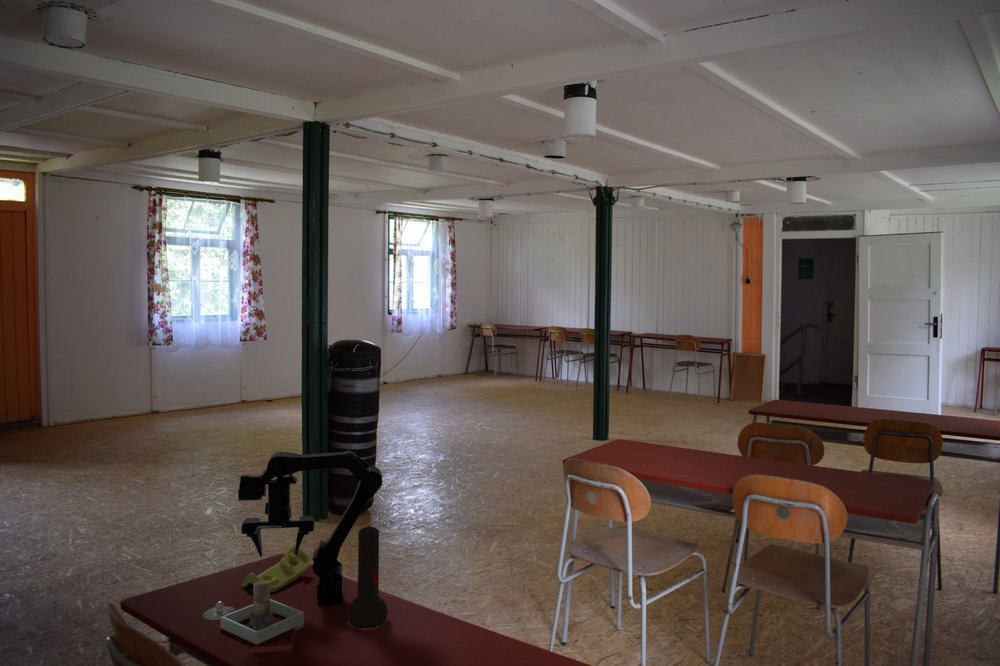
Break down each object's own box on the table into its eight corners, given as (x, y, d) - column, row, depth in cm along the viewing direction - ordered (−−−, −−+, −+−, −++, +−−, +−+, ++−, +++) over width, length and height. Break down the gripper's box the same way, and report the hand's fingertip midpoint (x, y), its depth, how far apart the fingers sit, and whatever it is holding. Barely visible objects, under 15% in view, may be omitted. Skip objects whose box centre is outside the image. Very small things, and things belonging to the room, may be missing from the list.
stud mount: (238, 609, 193) (238, 594, 193) (232, 622, 185) (232, 607, 185) (206, 610, 192) (206, 596, 191) (199, 624, 184) (199, 609, 183)
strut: (267, 621, 185) (267, 578, 184) (273, 627, 181) (273, 584, 180) (250, 625, 182) (250, 582, 181) (255, 632, 178) (255, 588, 178)
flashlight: (340, 622, 186) (368, 633, 181) (341, 527, 185) (369, 535, 180) (367, 609, 195) (394, 618, 189) (368, 518, 193) (396, 524, 188)
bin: (267, 612, 192) (268, 598, 191) (303, 626, 184) (303, 612, 183) (220, 631, 180) (220, 617, 180) (256, 648, 172) (256, 632, 172)
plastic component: (272, 590, 201) (246, 569, 204) (264, 610, 203) (238, 590, 206) (317, 561, 219) (292, 543, 222) (309, 580, 221) (285, 561, 224)
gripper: (316, 490, 206) (315, 544, 207) (247, 492, 203) (247, 547, 203) (313, 501, 195) (313, 558, 196) (241, 503, 192) (240, 561, 192)
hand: (278, 555), depth 197 cm, fingers open, 9 cm apart
